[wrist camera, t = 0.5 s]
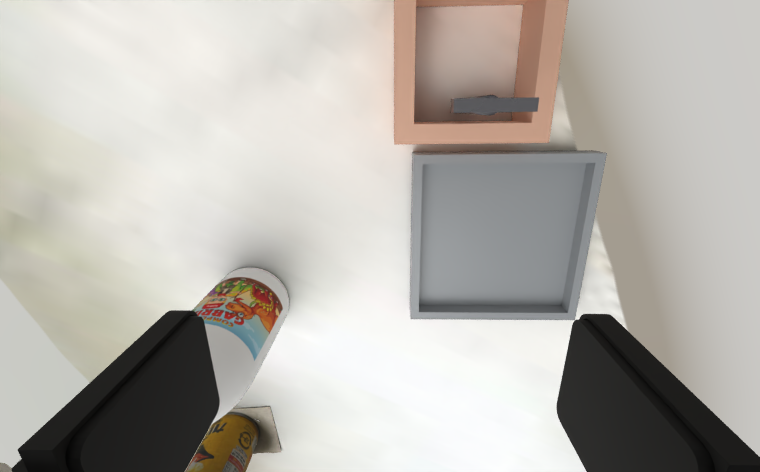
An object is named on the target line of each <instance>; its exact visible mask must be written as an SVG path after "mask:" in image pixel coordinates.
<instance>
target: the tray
mask: <svg viewBox="0 0 760 472" xmlns="http://www.w3.org/2000/svg"><path fill="white" fill-rule="evenodd" d="M606 155H607V153H603V152H599V151H501V152H412V208H411V267H410V317H411V319H487V320H575V316H576V311H577V306H578V301H579V295H580V290H581V285H582V280H583V275H584V269H585V264H586V259H587V254H588V249H589V243H590V238H591V233H592V228H593V223H594V217H595V212H596V207H597V201H598V197H599V191H600V186H601V181H602V176H603V170H604V165H605V160H606Z"/></svg>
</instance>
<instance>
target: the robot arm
mask: <svg viewBox="0 0 760 472" xmlns="http://www.w3.org/2000/svg"><path fill="white" fill-rule="evenodd" d="M219 405H220V398H219V393H218V388H217V383H216V378H215V373H214V368H213V363H212V358H211V353H210V348H209V343H208V338H207V333H206V328H205V323H204V320H203V318H202V317H200V316H198V315H197V313H196V312H195V311H168V312H167V313H166V314H165V315H163V316H162V317H161V318H160V319H159V320H158V321H157V322H156V323H155V324H154V325H153V326H151V327H150V328H149V329H148V330H147V331H146V332H145V333H144V334H143V335H142V336H141V337H140V338H138V339H137V340H136V341H135V342H134V343H133V344H132V345H131V346H130V347H129V348H128V349H126V350H125V351H124V352H123V353H122V354H121V355H120V356H119V357H118V358H117V359H116V360H115V361H113V362H112V363H111V364H110V365H109V366H108V367H107V368H106V369H105V370H104V371H103V372H101V373H100V374H99V375H98V376H97V377H96V378H95V379H94V380H93V381H92V382H91V383H90V384H88V385H87V386H86V387H85V388H84V389H83V390H82V391H81V392H80V393H79V394H78V395H76V396H75V397H74V398H73V399H72V400H71V401H70V402H69V403H68V404H67V405H66V406H65V407H64V408H62V409H61V410H60V411H59V412H58V413H57V414H56V415H55V416H54V417H53V418H51V419H50V420H49V421H48V422H47V423H46V424H45V425H44V426H43V427H42V428H41V429H40V430H38V432H36V433H35V434H34V435H33V436H32V437H31V438H30V439H29V440H28V441H26V442H25V444H23V445H22V446H21V447H20V448H19V449H18V452H19V454H20V456H21V458H22V459H21V460H20V461H19V462H18V463H17V464H16V465H15V466H14V467H13V468H10V467H9V466H8V465H7V464H5V463H0V472H185V470H186V468H187V466H188V465H189V463H190V461H191V459H192V457H193V456H194V454H195V452H196V450H197V449H198V447H199V445H200V443H201V442H202V440H203V438H204V436H205V434H206V433H207V431H208V429H209V427H210V426H211V424H212V422H213V420H214V419H215V417H216V415H217V413H218V410H219ZM557 414H558V418H559V420H560V422H561V424H562V426H563V428H564V430H565V432H566V433H567V435H568V437H569V439H570V441H571V443H572V445H573V447H574V448H575V450H576V452H577V454H578V456H579V458H580V460H581V462H582V463H583V465H584V467H585V469H586V471H587V472H760V457H759V456H758V455H757V454H756V453H755V452H754V451H753V450H752V449H751V448H749V447H748V446H747V445H746V444H745V443H744V442H743V441H742V440H741V439H740V438H739V437H738V436H737V435H736V434H735V433H734V432H733V431H732V430H731V429H730V428H729V427H728V426H726V425H725V424H724V423H723V422H722V421H721V420H720V419H719V418H718V417H717V416H716V415H715V414H714V413H713V412H712V411H711V410H710V409H709V408H707V406H706V405H705V404H703V403H702V402H701V401H700V400H699V399H698V398H697V397H696V396H695V395H694V394H693V393H692V392H691V391H690V390H689V389H688V388H687V387H685V385H684V384H682V383H681V382H680V381H679V380H678V379H677V378H676V377H675V376H674V375H673V374H672V373H671V372H670V371H669V370H668V369H667V368H666V367H664V365H663V364H662V363H661V362H659V361H658V360H657V359H656V358H655V357H654V356H653V355H652V354H651V353H650V352H649V351H648V350H647V349H646V348H645V347H644V346H643V345H642V344H641V343H640V342H639V341H637V340H636V339H635V338H634V337H633V336H632V335H631V334H630V333H629V332H628V331H627V330H626V329H625V328H624V327H623V326H622V325H621V324H620V323H619V322H618V321H617V320H616V319H615V318H613V317H612V316H611V315H608V314H583V315H582V316H581V317H580V319H579V320H575V321H574V323H573V325H572V330H571V335H570V340H569V345H568V350H567V356H566V361H565V366H564V371H563V376H562V381H561V386H560V391H559V396H558V401H557Z"/></svg>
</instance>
